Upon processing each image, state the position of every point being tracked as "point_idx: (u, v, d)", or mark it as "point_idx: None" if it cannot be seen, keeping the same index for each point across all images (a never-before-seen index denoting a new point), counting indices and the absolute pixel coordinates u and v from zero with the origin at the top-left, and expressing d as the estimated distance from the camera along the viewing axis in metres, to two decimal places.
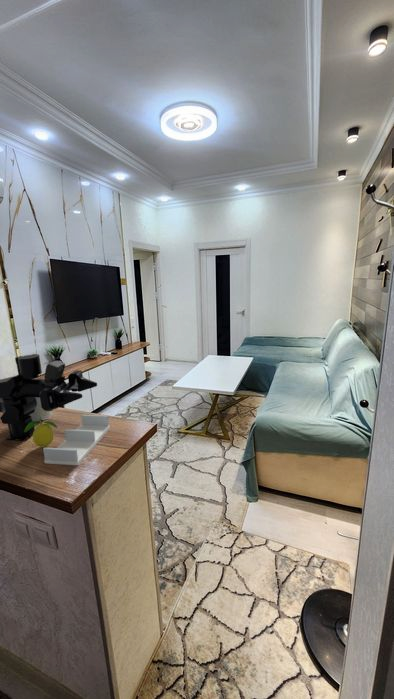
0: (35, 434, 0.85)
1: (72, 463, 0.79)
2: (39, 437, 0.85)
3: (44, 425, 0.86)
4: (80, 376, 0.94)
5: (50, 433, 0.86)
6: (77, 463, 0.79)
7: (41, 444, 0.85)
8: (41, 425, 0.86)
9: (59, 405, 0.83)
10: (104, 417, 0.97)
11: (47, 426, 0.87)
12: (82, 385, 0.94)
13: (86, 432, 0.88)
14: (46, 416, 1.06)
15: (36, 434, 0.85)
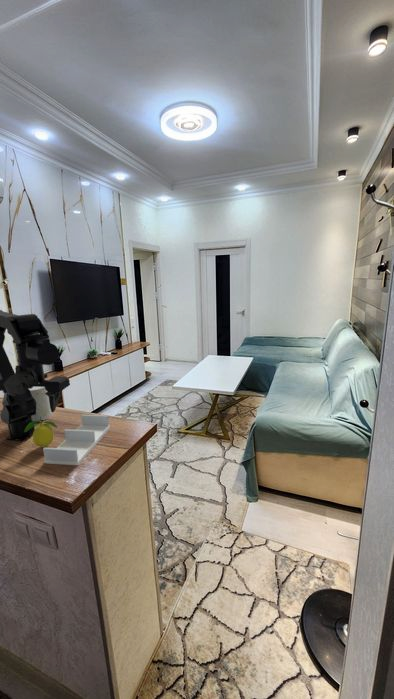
0: (35, 434, 0.85)
1: (72, 463, 0.79)
2: (39, 437, 0.85)
3: (44, 425, 0.86)
4: (48, 395, 0.81)
5: (50, 433, 0.86)
6: (77, 463, 0.79)
7: (41, 444, 0.85)
8: (41, 425, 0.86)
9: None
10: (104, 417, 0.97)
11: (47, 426, 0.87)
12: None
13: (86, 432, 0.88)
14: (46, 416, 1.06)
15: (36, 434, 0.85)
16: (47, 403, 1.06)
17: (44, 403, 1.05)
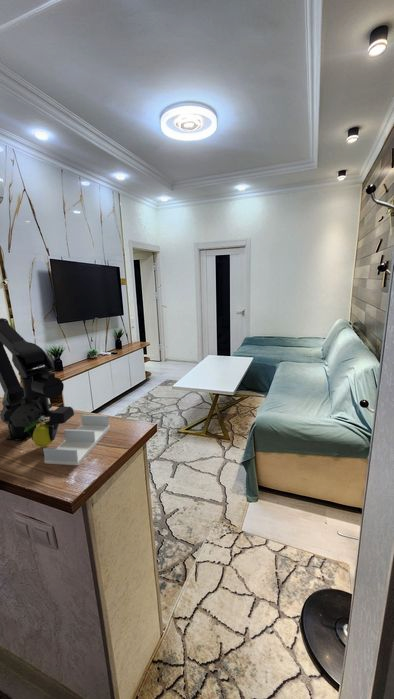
0: (35, 434, 0.85)
1: (72, 463, 0.79)
2: (39, 437, 0.85)
3: (44, 425, 0.86)
4: (48, 425, 0.83)
5: None
6: (77, 463, 0.79)
7: (41, 444, 0.85)
8: (41, 425, 0.86)
9: None
10: (104, 417, 0.97)
11: (47, 426, 0.87)
12: None
13: (86, 432, 0.88)
14: None
15: (36, 434, 0.85)
16: None
17: None
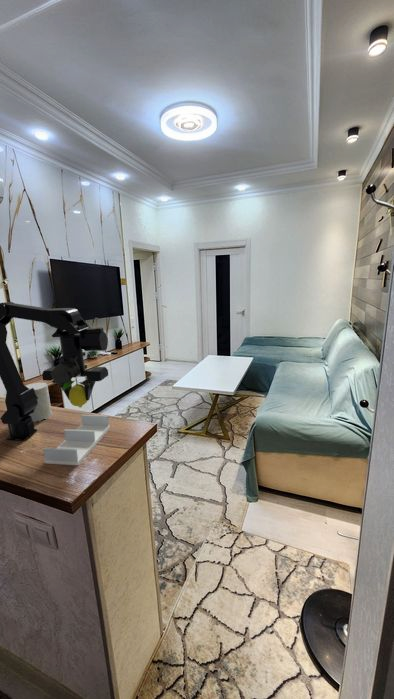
0: (71, 393, 0.88)
1: (72, 463, 0.79)
2: (75, 396, 0.87)
3: (79, 385, 0.89)
4: (84, 384, 0.86)
5: None
6: (77, 463, 0.79)
7: (77, 403, 0.88)
8: (77, 385, 0.89)
9: None
10: (104, 417, 0.97)
11: (82, 386, 0.90)
12: None
13: (86, 432, 0.88)
14: (46, 416, 1.06)
15: (73, 393, 0.87)
16: (47, 403, 1.06)
17: (44, 403, 1.05)
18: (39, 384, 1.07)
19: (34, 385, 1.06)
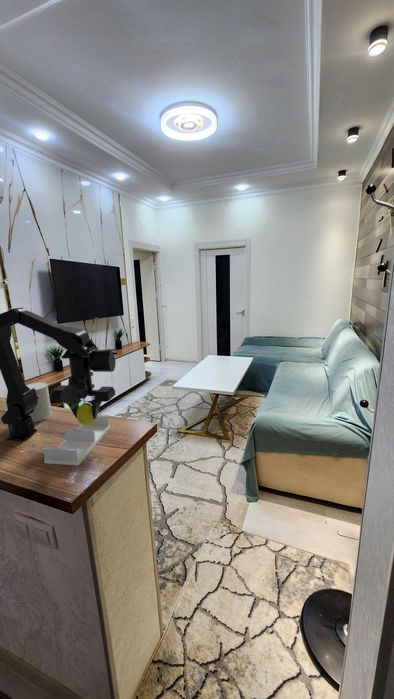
0: (79, 412, 0.90)
1: (72, 463, 0.79)
2: (83, 415, 0.90)
3: (87, 404, 0.92)
4: (92, 404, 0.89)
5: None
6: (77, 463, 0.79)
7: (85, 421, 0.91)
8: (84, 404, 0.91)
9: None
10: (104, 417, 0.97)
11: (90, 405, 0.92)
12: None
13: (86, 432, 0.88)
14: (46, 416, 1.06)
15: (81, 412, 0.90)
16: (47, 403, 1.06)
17: (44, 403, 1.05)
18: (39, 384, 1.07)
19: (34, 385, 1.06)
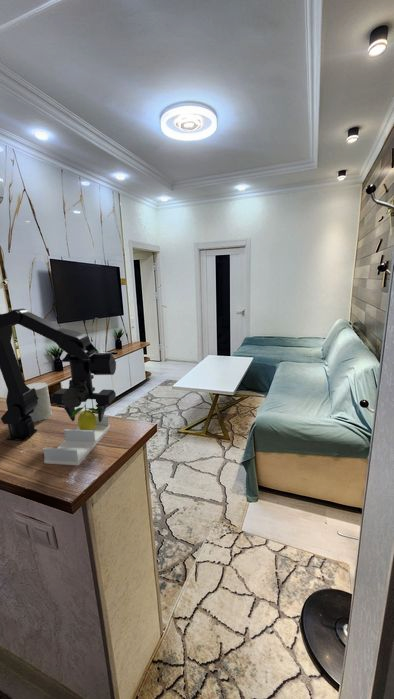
0: (80, 419, 0.91)
1: (72, 463, 0.79)
2: (84, 422, 0.91)
3: (88, 411, 0.93)
4: (98, 407, 0.89)
5: (94, 419, 0.93)
6: (77, 463, 0.79)
7: (86, 429, 0.91)
8: (86, 411, 0.92)
9: None
10: (104, 417, 0.97)
11: (91, 412, 0.93)
12: None
13: (86, 432, 0.88)
14: (46, 416, 1.06)
15: (82, 419, 0.91)
16: (47, 403, 1.06)
17: (44, 403, 1.05)
18: (39, 384, 1.07)
19: (34, 385, 1.06)
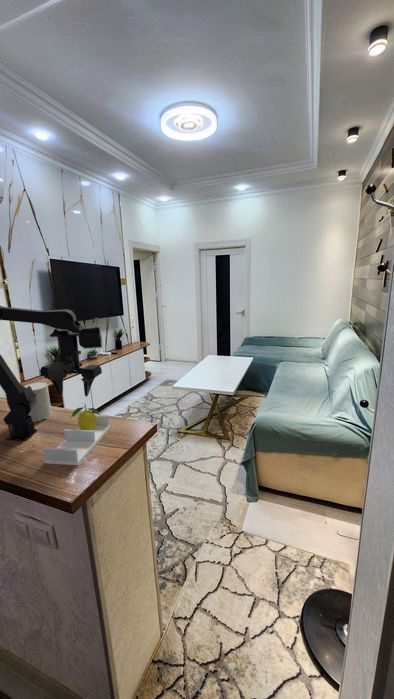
0: (80, 419, 0.91)
1: (72, 463, 0.79)
2: (84, 422, 0.91)
3: (88, 411, 0.93)
4: (84, 381, 0.92)
5: (94, 419, 0.93)
6: (77, 463, 0.79)
7: (86, 429, 0.91)
8: (86, 411, 0.92)
9: None
10: (104, 417, 0.97)
11: (91, 412, 0.93)
12: None
13: (86, 432, 0.88)
14: (46, 416, 1.06)
15: (82, 419, 0.91)
16: (47, 403, 1.06)
17: (44, 403, 1.05)
18: (39, 384, 1.07)
19: (34, 385, 1.06)
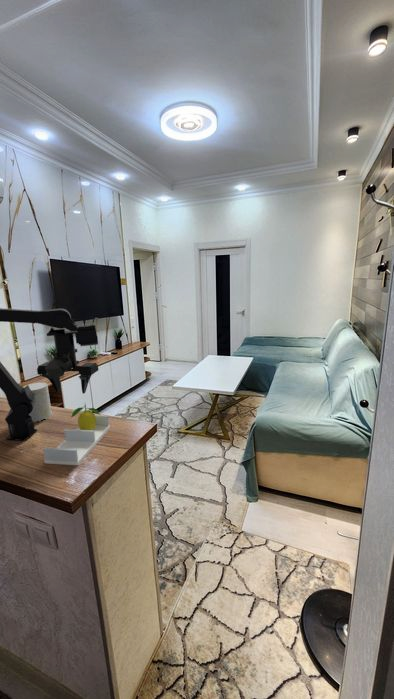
0: (80, 419, 0.91)
1: (72, 463, 0.79)
2: (84, 422, 0.91)
3: (88, 411, 0.93)
4: (81, 378, 0.94)
5: (94, 419, 0.93)
6: (77, 463, 0.79)
7: (86, 429, 0.91)
8: (86, 411, 0.92)
9: None
10: (104, 417, 0.97)
11: (91, 412, 0.93)
12: None
13: (86, 432, 0.88)
14: (46, 416, 1.06)
15: (82, 419, 0.91)
16: (47, 403, 1.06)
17: (44, 403, 1.05)
18: (39, 384, 1.07)
19: (34, 385, 1.06)
